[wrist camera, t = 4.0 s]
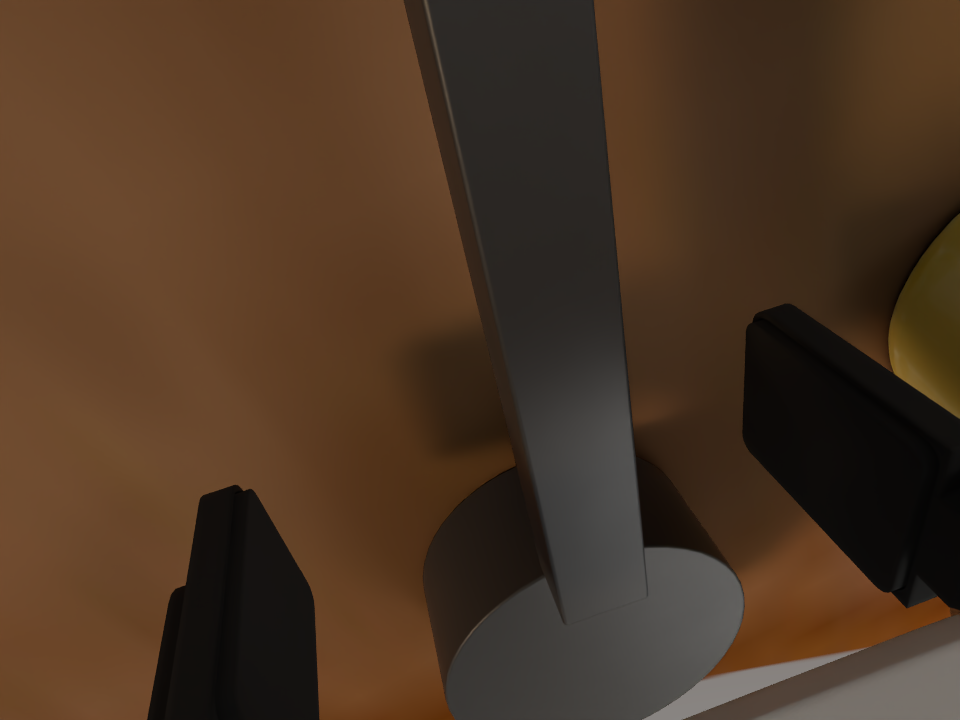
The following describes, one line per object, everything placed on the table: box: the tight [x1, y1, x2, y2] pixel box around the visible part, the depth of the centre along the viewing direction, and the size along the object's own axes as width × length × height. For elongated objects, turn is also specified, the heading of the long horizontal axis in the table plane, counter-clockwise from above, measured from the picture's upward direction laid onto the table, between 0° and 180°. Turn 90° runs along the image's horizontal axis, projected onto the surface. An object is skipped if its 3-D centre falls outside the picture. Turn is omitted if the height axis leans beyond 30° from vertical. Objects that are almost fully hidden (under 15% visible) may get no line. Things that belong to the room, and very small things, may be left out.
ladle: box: [404, 0, 745, 720], centre depth 11 cm, size 21×7×4 cm, turn 12°
